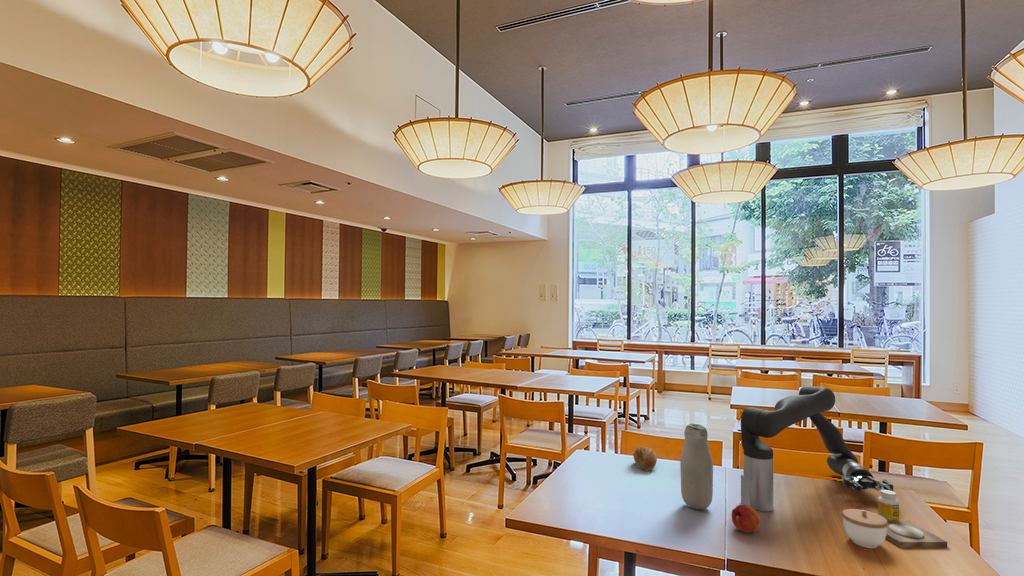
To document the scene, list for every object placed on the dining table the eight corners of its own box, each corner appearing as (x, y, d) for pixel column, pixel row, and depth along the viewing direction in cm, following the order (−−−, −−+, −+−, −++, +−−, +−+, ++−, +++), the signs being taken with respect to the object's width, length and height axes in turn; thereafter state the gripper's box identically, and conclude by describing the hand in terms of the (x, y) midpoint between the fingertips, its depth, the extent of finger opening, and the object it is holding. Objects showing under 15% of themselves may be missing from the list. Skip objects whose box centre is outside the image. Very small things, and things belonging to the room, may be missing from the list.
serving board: (900, 547, 138) (900, 539, 138) (865, 526, 151) (865, 519, 151) (947, 547, 139) (947, 539, 139) (908, 526, 152) (908, 519, 152)
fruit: (726, 524, 151) (726, 499, 151) (752, 525, 151) (752, 499, 151) (737, 537, 143) (737, 509, 143) (765, 537, 143) (765, 510, 143)
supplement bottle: (882, 516, 158) (881, 487, 158) (902, 523, 154) (901, 492, 154) (875, 520, 155) (875, 490, 155) (895, 527, 151) (895, 496, 151)
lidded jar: (833, 534, 145) (833, 503, 146) (866, 533, 146) (866, 502, 146) (862, 553, 135) (861, 519, 135) (897, 552, 135) (897, 518, 136)
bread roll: (634, 472, 198) (634, 452, 198) (632, 460, 213) (632, 442, 213) (658, 473, 196) (658, 453, 196) (654, 461, 211) (654, 443, 211)
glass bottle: (716, 507, 164) (716, 424, 165) (705, 516, 156) (705, 430, 157) (688, 498, 171) (688, 419, 172) (675, 507, 163) (676, 424, 164)
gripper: (835, 462, 182) (850, 477, 167) (879, 467, 178) (899, 482, 163) (835, 482, 182) (850, 499, 167) (880, 487, 178) (900, 505, 162)
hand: (875, 491), depth 165 cm, fingers open, 8 cm apart
